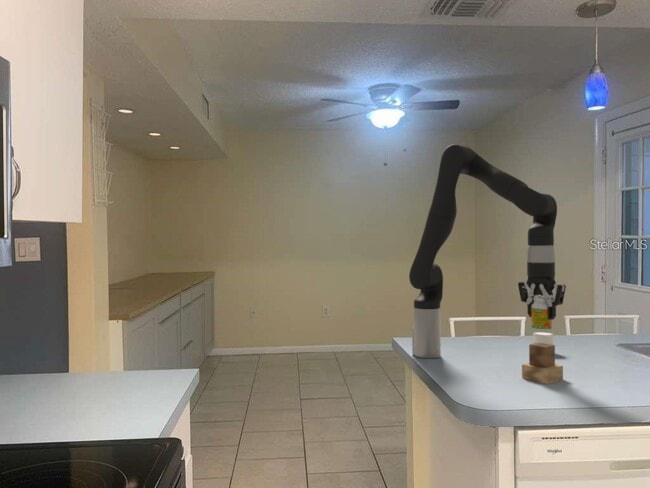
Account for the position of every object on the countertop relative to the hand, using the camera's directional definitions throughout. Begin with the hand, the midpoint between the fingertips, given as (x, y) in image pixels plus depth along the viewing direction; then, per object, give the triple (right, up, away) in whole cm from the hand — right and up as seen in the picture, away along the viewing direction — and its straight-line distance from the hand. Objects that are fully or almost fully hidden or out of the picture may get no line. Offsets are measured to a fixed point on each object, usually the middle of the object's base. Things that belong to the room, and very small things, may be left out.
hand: (541, 317), depth 139 cm
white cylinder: (+16, -18, +32) cm, 40 cm away
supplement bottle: (0, -4, 0) cm, 4 cm away
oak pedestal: (0, -18, 0) cm, 18 cm away
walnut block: (0, -14, 0) cm, 14 cm away
